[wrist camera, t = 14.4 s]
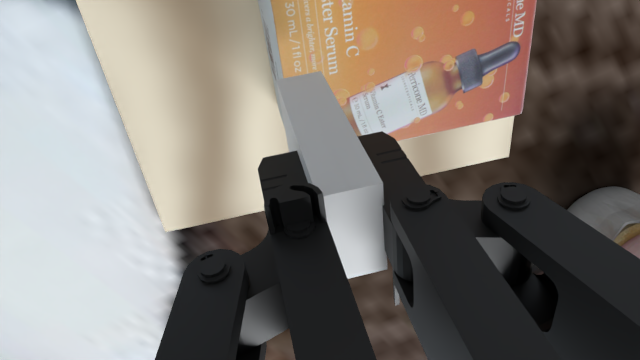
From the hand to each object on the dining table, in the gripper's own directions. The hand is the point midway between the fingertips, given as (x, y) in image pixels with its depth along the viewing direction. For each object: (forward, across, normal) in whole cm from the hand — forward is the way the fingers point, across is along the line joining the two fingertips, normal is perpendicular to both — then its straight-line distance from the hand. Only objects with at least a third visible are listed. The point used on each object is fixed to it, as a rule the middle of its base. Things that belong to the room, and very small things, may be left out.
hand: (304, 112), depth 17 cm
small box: (+5, +1, 0) cm, 5 cm away
